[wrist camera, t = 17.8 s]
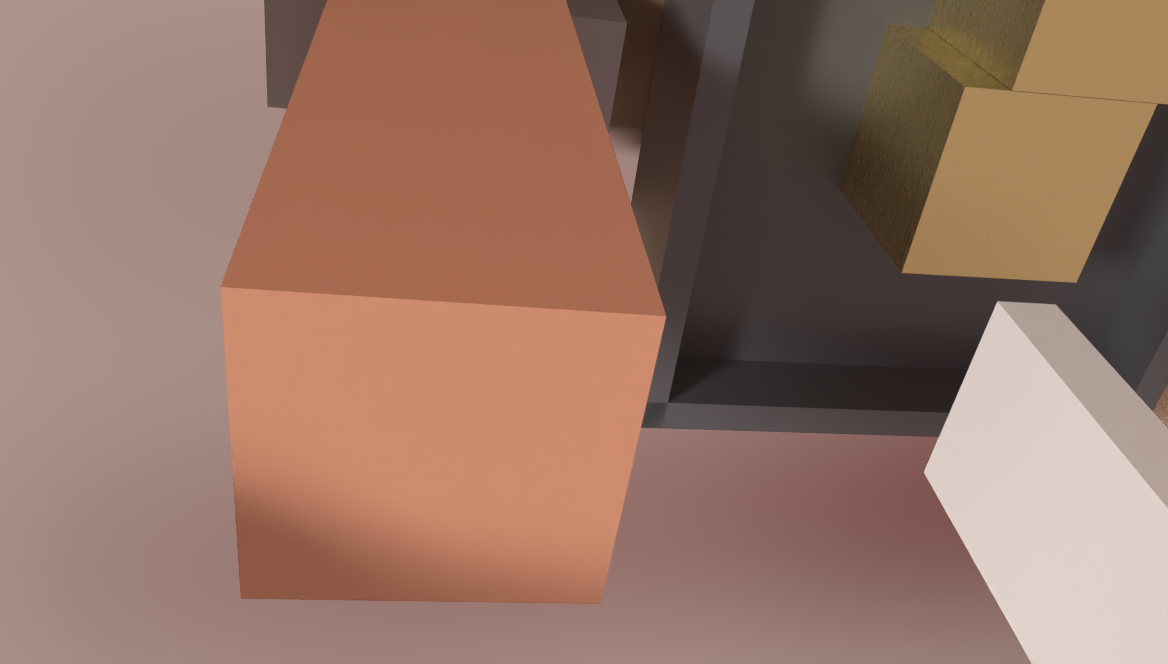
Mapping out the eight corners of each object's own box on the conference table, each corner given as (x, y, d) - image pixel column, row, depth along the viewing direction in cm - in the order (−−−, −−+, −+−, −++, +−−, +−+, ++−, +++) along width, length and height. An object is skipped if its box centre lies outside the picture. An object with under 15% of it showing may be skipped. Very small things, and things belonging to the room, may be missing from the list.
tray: (722, -340, 20) (780, -344, 16) (1335, -243, 22) (1503, -226, 18) (609, 334, 28) (631, 427, 25) (1056, 355, 30) (1134, 443, 27)
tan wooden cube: (887, 24, 22) (965, 86, 18) (1053, 40, 22) (1157, 103, 19) (839, 189, 24) (901, 272, 21) (992, 200, 25) (1076, 282, 21)
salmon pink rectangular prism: (288, -101, 21) (35, 275, 8) (610, -59, 22) (817, 325, 10) (292, 80, 23) (93, 596, 11) (584, 110, 24) (724, 605, 12)
